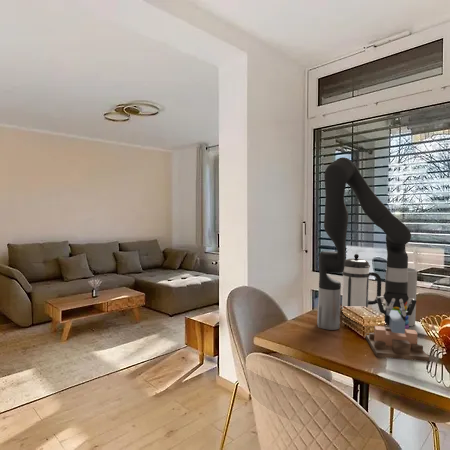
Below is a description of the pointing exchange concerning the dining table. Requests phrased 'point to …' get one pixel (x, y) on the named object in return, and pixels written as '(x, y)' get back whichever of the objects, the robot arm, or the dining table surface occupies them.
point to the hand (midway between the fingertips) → (394, 324)
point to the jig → (397, 349)
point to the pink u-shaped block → (394, 336)
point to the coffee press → (358, 283)
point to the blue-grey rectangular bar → (396, 322)
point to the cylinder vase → (411, 293)
